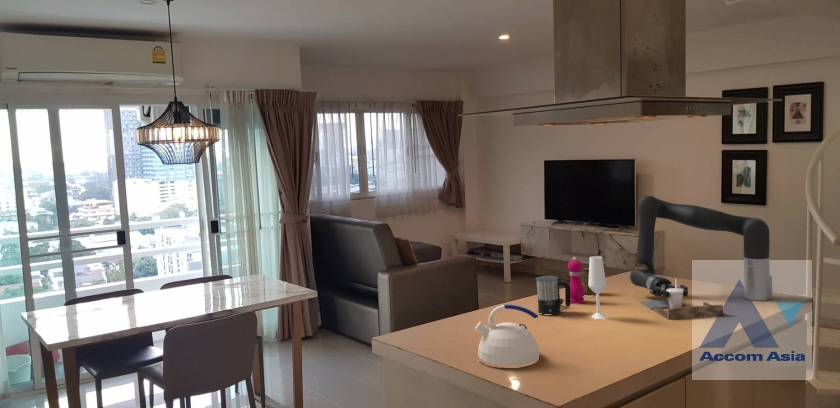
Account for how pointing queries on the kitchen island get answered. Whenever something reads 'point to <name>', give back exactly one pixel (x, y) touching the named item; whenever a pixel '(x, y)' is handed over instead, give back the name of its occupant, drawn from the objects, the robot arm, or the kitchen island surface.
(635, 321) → the kitchen island surface
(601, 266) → the champagne flute
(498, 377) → the kitchen island surface
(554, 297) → the milk frother
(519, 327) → the kettle
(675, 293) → the smoothie
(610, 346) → the kitchen island surface
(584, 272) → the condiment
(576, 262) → the pepper mill
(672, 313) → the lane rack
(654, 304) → the slate mat
